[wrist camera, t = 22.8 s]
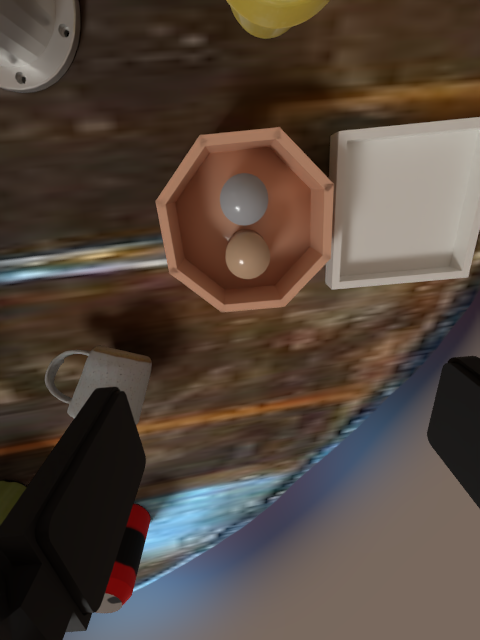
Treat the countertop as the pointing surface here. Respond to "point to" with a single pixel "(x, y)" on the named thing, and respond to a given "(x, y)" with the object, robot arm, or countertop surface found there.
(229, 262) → the tan pebble
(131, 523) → the soda can
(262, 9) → the plant pot
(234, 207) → the slate pebble
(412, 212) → the parts tray
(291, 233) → the bowl
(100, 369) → the ceramic mug
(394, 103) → the countertop surface
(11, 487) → the plant pot
